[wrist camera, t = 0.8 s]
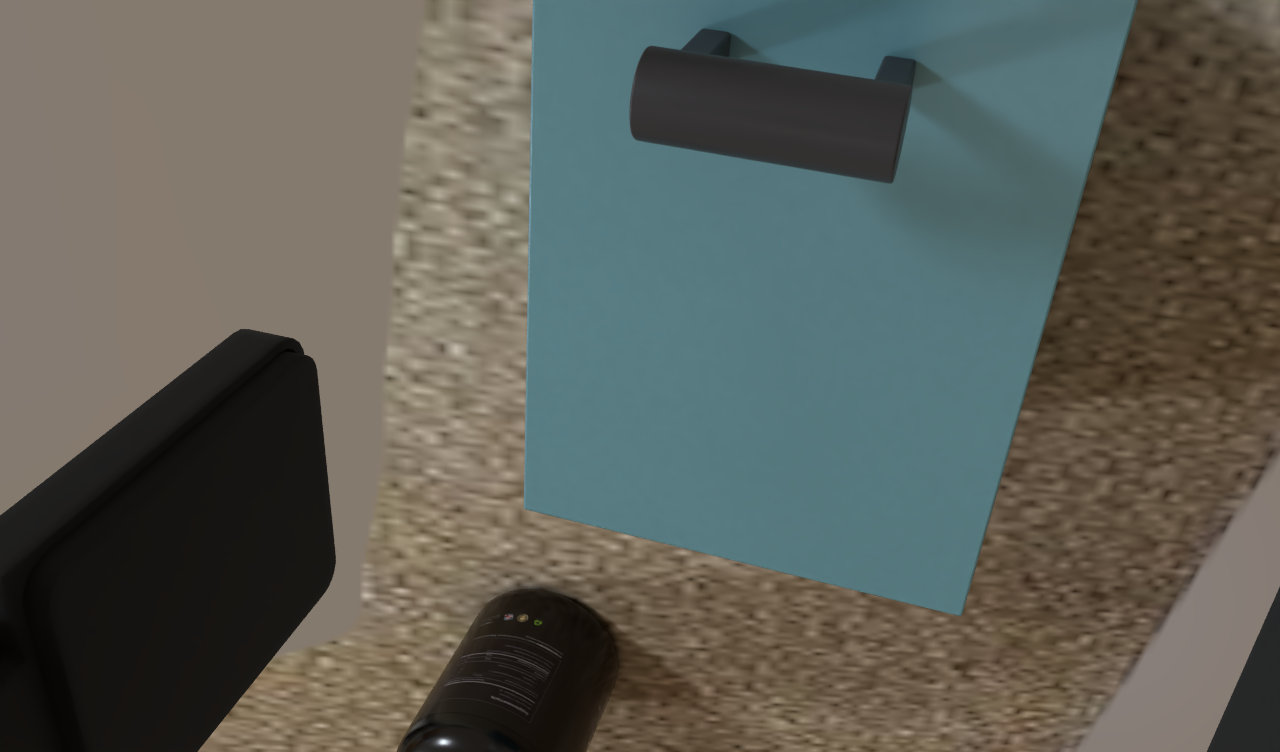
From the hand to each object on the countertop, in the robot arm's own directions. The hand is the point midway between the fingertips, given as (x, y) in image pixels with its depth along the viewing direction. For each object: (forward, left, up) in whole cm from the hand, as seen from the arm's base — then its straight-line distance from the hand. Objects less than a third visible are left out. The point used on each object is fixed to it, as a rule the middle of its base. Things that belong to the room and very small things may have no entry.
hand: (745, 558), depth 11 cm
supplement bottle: (+30, -11, -27) cm, 42 cm away
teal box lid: (+6, -2, -17) cm, 18 cm away
